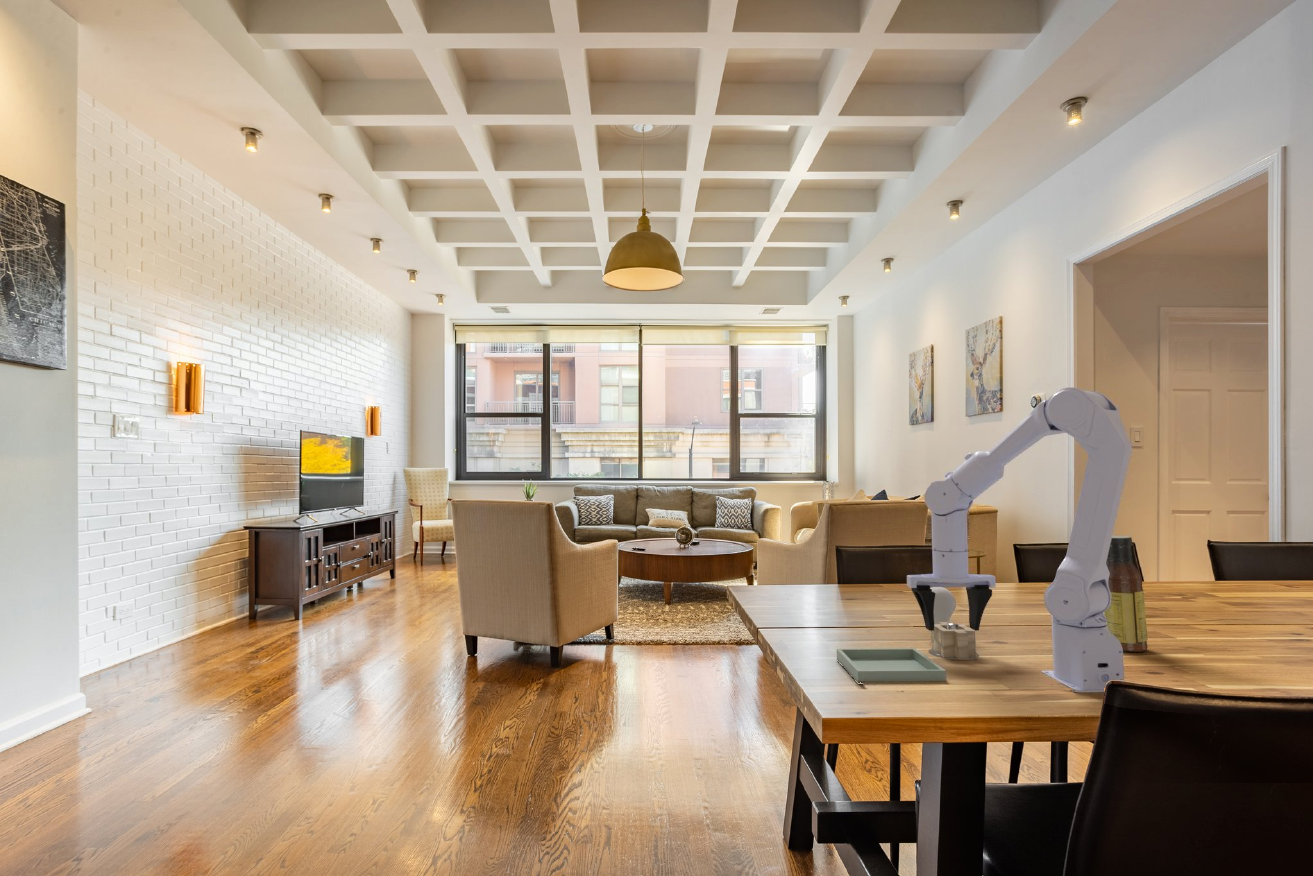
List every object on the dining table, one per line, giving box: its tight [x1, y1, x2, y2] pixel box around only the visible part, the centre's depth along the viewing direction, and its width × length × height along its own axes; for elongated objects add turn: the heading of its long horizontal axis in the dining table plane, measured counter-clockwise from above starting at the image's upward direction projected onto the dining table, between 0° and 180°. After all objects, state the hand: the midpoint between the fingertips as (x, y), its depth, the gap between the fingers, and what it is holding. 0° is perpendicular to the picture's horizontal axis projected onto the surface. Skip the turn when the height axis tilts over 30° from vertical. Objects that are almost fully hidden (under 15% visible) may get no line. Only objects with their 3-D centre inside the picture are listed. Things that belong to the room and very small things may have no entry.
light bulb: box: [930, 587, 957, 624], centre depth 130 cm, size 6×6×10 cm
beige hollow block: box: [930, 622, 977, 661], centre depth 119 cm, size 8×5×4 cm, turn 179°
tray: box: [836, 647, 947, 683], centre depth 111 cm, size 13×13×2 cm
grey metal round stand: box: [928, 622, 980, 660], centre depth 119 cm, size 8×8×6 cm
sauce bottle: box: [1104, 535, 1149, 653], centre depth 123 cm, size 7×6×20 cm
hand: (952, 629), depth 119 cm, fingers open, 7 cm apart
